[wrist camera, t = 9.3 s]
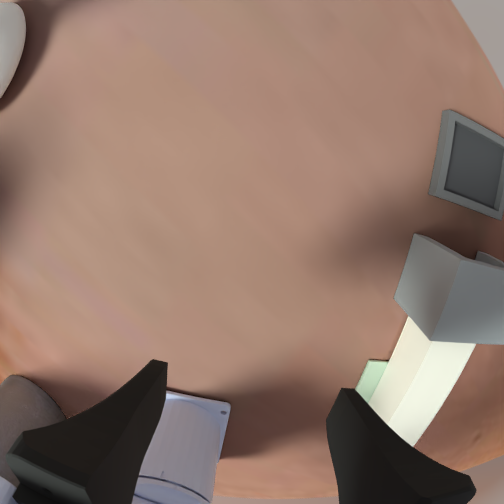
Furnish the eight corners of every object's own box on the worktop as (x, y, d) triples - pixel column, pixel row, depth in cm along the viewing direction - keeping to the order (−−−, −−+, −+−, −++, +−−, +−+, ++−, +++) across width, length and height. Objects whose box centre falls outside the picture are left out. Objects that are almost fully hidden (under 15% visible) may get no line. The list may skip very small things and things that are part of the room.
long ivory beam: (396, 422, 25) (409, 451, 21) (356, 423, 25) (366, 455, 21) (451, 317, 21) (476, 341, 18) (410, 312, 21) (433, 339, 17)
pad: (404, 428, 26) (404, 429, 25) (334, 429, 25) (334, 431, 25) (442, 363, 23) (443, 364, 23) (368, 359, 23) (369, 361, 23)
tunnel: (467, 309, 22) (506, 344, 16) (393, 298, 21) (429, 340, 15) (487, 253, 20) (534, 279, 14) (414, 233, 20) (461, 259, 14)
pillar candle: (79, 443, 28) (33, 536, 13) (22, 424, 28) (-28, 498, 13) (51, 383, 25) (-22, 484, 10) (-7, 365, 25) (-77, 440, 10)
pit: (493, 218, 19) (501, 220, 18) (428, 194, 19) (435, 195, 18) (507, 145, 17) (514, 145, 17) (442, 111, 17) (449, 109, 16)
